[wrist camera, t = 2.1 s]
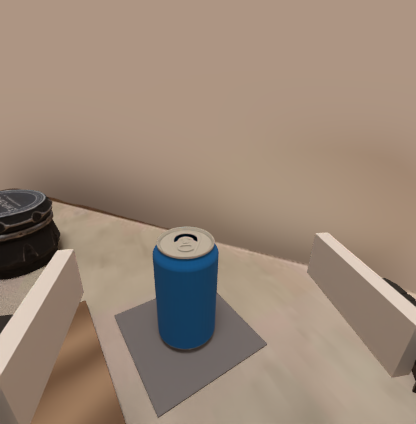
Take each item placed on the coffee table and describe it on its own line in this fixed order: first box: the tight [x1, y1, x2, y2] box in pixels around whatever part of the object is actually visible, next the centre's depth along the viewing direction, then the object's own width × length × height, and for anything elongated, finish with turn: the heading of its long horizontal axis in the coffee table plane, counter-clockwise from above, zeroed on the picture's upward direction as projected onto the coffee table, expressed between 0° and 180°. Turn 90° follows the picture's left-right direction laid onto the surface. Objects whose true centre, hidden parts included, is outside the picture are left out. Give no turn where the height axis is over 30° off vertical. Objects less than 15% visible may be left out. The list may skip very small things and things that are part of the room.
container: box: [0, 190, 60, 279], centre depth 40 cm, size 13×13×10 cm
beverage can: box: [153, 227, 219, 349], centre depth 28 cm, size 6×6×12 cm
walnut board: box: [30, 301, 126, 424], centre depth 23 cm, size 16×16×1 cm
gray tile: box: [115, 293, 267, 417], centre depth 30 cm, size 13×13×1 cm
